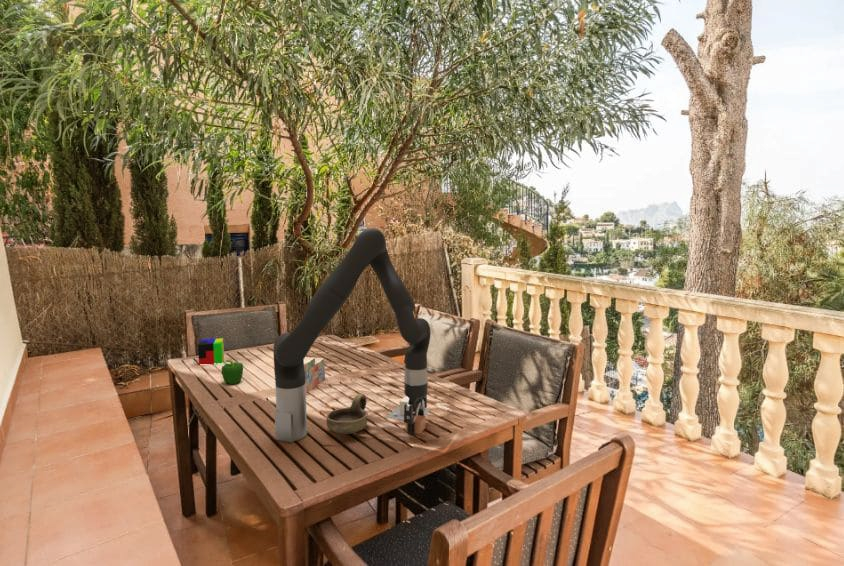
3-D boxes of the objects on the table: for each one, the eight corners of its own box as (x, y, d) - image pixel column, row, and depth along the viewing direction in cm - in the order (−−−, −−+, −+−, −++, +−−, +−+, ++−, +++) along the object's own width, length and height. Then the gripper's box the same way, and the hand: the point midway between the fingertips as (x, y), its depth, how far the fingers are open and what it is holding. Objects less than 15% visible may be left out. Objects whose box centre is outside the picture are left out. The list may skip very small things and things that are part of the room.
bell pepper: (248, 380, 200) (247, 358, 198) (233, 387, 192) (232, 363, 191) (233, 378, 203) (232, 355, 202) (218, 384, 196) (217, 360, 195)
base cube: (412, 417, 163) (412, 403, 162) (399, 414, 164) (399, 401, 164) (418, 411, 167) (418, 398, 166) (405, 409, 169) (405, 396, 168)
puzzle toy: (202, 359, 230) (201, 339, 228) (224, 357, 233) (223, 338, 231) (199, 365, 220) (197, 344, 219) (222, 363, 223) (220, 343, 222)
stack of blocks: (311, 377, 205) (311, 350, 203) (325, 378, 204) (324, 351, 202) (287, 395, 184) (286, 365, 183) (302, 396, 183) (301, 366, 181)
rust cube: (419, 437, 150) (420, 422, 149) (405, 434, 152) (405, 419, 151) (425, 430, 155) (425, 416, 154) (411, 428, 156) (411, 414, 156)
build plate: (418, 425, 158) (418, 421, 158) (386, 419, 162) (386, 415, 162) (430, 412, 169) (430, 407, 169) (400, 407, 174) (400, 402, 173)
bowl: (316, 435, 151) (316, 405, 149) (348, 415, 166) (348, 388, 165) (351, 445, 144) (351, 414, 143) (381, 423, 160) (381, 395, 158)
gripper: (413, 372, 159) (413, 417, 161) (396, 386, 146) (396, 435, 148) (434, 375, 156) (433, 420, 158) (418, 389, 143) (418, 439, 145)
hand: (415, 427), depth 153 cm, fingers open, 8 cm apart
